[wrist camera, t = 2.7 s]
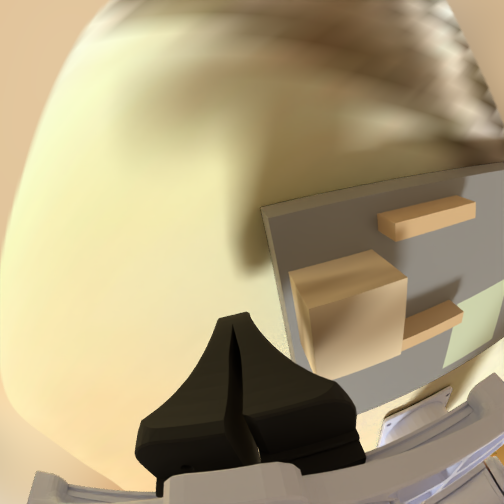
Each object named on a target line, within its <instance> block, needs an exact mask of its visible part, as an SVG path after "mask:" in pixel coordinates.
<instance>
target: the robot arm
mask: <svg viewBox="0 0 504 504" xmlns="http://www.w3.org/2000/svg"><path fill="white" fill-rule="evenodd" d="M452 389H453V388H452V387H451V386H448V387H447V388H445V389H443V390H441V391H439V392H438V393H436V394H434V395H432V396H430V397H428V398H426V399H424V400H423V401H421V402H419V403H417V404H415V405H413V406H411V407H408V408H406V409H404V410H402V411H400V412H398V413H396V414H393V415H391V416H389V417H387V418H386V419H385V420H384V421H383V426H382V430H381V434H380V438H379V443H378V446H377V448H376V449H374V450H371V451H369V452H366V453H365V452H364V450H363V448H362V446H361V444H360V441H359V438H360V437H359V434H358V432H357V430H356V418H357V411H356V407H355V405H354V403H353V401H352V400H351V398H350V397H349V395H348V394H347V393H346V392H345V391H344V389H343V388H342V387H341V386H340V385H339V384H338V383H337V382H336V381H333V380H330V379H327V378H324V377H321V376H319V375H317V374H315V373H312V372H310V371H308V370H307V369H305V368H303V367H301V366H300V365H298V364H296V363H295V362H293V361H292V360H290V359H289V358H287V357H286V356H285V355H283V354H282V353H281V352H280V351H279V350H277V349H276V348H275V347H274V346H273V345H272V344H271V343H270V342H269V341H268V340H267V339H266V338H265V337H264V335H263V334H262V333H261V332H260V331H259V329H258V328H257V327H256V325H255V324H254V322H253V321H252V319H251V317H250V314H249V313H248V312H243V313H239V314H235V315H231V316H227V317H222V318H219V319H218V321H217V323H216V326H215V329H214V331H213V334H212V336H211V339H210V341H209V343H208V345H207V347H206V349H205V351H204V353H203V355H202V357H201V358H200V360H199V362H198V364H197V365H196V367H195V368H194V370H193V371H192V373H191V374H190V376H189V377H188V378H187V380H186V381H185V382H184V383H183V384H182V386H181V387H180V388H179V389H178V390H177V391H176V392H175V393H174V394H173V395H172V396H171V397H170V398H169V399H168V400H167V401H166V402H165V403H164V404H163V405H162V406H160V407H159V408H158V409H157V410H155V411H154V412H153V413H151V414H150V415H149V416H147V417H146V418H144V419H143V420H142V421H141V423H140V427H139V430H138V435H137V441H136V447H135V456H136V458H137V460H138V461H139V462H140V463H141V464H142V465H143V466H144V467H145V468H146V469H147V470H148V471H149V472H151V473H152V474H153V475H154V476H155V477H156V478H157V482H156V492H137V491H120V490H108V489H99V488H91V487H85V486H78V485H72V484H68V483H67V482H66V481H65V480H64V479H63V478H61V477H59V476H57V475H55V474H52V473H47V472H43V471H36V474H35V477H34V480H33V484H32V487H31V491H30V494H29V498H28V502H27V504H504V466H503V465H502V463H501V462H500V460H499V459H498V457H497V456H494V457H491V456H490V455H491V454H492V453H494V452H495V451H496V450H497V449H498V448H500V447H501V446H502V445H503V444H504V382H503V381H502V380H501V379H500V377H499V376H498V375H497V374H496V373H492V374H491V375H490V376H488V377H487V378H485V379H484V380H483V381H481V382H480V383H478V384H477V385H476V386H475V387H474V388H473V389H472V390H471V391H470V393H469V395H468V398H467V401H466V402H464V403H463V404H461V405H459V406H458V407H456V408H455V409H453V410H451V411H450V412H448V410H447V409H446V408H445V407H446V404H447V402H448V400H449V397H450V395H451V392H452ZM258 449H259V452H258ZM259 454H260V456H259ZM487 457H488V458H487ZM486 458H487V459H486Z"/></svg>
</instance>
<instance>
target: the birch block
mask: <svg viewBox="0 0 504 504" xmlns="http://www.w3.org/2000/svg"><path fill="white" fill-rule="evenodd" d="M288 273H289V278H290V284H291V290H292V295H293V301H294V307H295V313H296V319H297V325H298V331H299V337H300V343H301V345H302V347H303V350H304V352H305V355H306V357H307V359H308V362H309V364H310V367H311V369H312V371H313V373H315V374H317V375H319V376H321V377H324V378H327V379H330V380H334V379H337V378H340V377H343V376H346V375H349V374H352V373H355V372H357V371H360V370H363V369H365V368H368V367H371V366H373V365H376V364H378V363H381V362H384V361H386V360H388V359H391V358H393V357H396V356H398V355H400V354H401V349H402V342H403V333H404V324H405V313H406V300H407V282H408V277H407V276H405V275H404V274H403V273H402V272H400V271H399V270H398V269H397V268H395V267H394V266H393V265H391V264H390V263H389V262H388V261H386V260H385V259H384V258H382V257H381V256H380V255H379V254H377V253H376V252H375V251H373V250H372V249H371V250H367V251H364V252H360V253H357V254H353V255H350V256H346V257H342V258H339V259H335V260H331V261H328V262H324V263H320V264H316V265H313V266H309V267H305V268H301V269H298V270H294V271H290V272H288Z"/></svg>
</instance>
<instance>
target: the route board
mask: <svg viewBox="0 0 504 504" xmlns="http://www.w3.org/2000/svg"><path fill="white" fill-rule="evenodd" d="M260 208H261V213H262V218H263V222H264V227H265V232H266V236H267V241H268V246H269V251H270V255H271V260H272V265H273V270H274V275H275V280H276V284H277V289H278V294H279V299H280V304H281V309H282V314H283V319H284V324H285V329H286V334H287V340H288V345H289V350H290V355H291V360H292V361H293V362H295V363H296V364H298V365H300V366H301V367H303V368H305V369H307V370H308V371H310V372H312V373H313V371H312V369H311V367H310V364H309V362H308V359H307V357H306V355H305V352H304V350H303V347H302V345H301V343H300V337H299V331H298V325H297V319H296V313H295V307H294V301H293V295H292V290H291V284H290V278H289V273H288V272H290V271H294V270H298V269H301V268H305V267H309V266H313V265H316V264H320V263H324V262H328V261H331V260H335V259H339V258H342V257H346V256H350V255H353V254H357V253H360V252H364V251H367V250H371V249H372V250H373V251H375V252H376V253H377V254H379V255H380V256H381V257H382V258H384V259H385V260H386V261H388V262H389V263H390V264H391V265H393V266H394V267H395V268H397V269H398V270H399V271H400V272H402V273H403V274H404V275H405V276H407V277H408V282H407V300H406V313H405V324H404V333H403V342H402V349H401V354H400V355H398V356H396V357H393V358H391V359H388V360H386V361H384V362H381V363H378V364H376V365H373V366H371V367H368V368H365V369H363V370H360V371H357V372H355V373H352V374H349V375H346V376H343V377H340V378H337V379H334V380H333V381H336V382H337V383H338V384H339V385H340V386H341V387H342V388H343V389H344V391H345V392H346V393H347V394H348V395H349V397H350V398H351V400H352V401H353V403H354V405H355V407H356V411H357V415H358V414H361V413H363V412H366V411H368V410H371V409H373V408H376V407H378V406H381V405H383V404H385V403H388V402H390V401H392V400H395V399H397V398H399V397H401V396H403V395H406V394H408V393H410V392H412V391H414V390H416V389H418V388H420V387H422V386H424V385H426V384H428V383H430V382H432V381H434V380H436V379H438V378H439V377H441V376H443V375H445V374H447V373H448V372H450V371H452V370H454V369H455V368H457V367H459V366H461V365H462V364H464V363H466V362H467V361H469V360H470V359H472V358H474V357H475V356H477V355H478V354H480V353H481V352H483V351H484V350H486V349H487V348H489V347H490V346H492V345H493V344H495V343H496V342H498V341H499V340H500V339H502V338H503V337H504V162H499V163H491V164H484V165H477V166H470V167H463V168H457V169H450V170H444V171H438V172H432V173H426V174H420V175H414V176H408V177H403V178H397V179H392V180H386V181H381V182H376V183H371V184H365V185H360V186H355V187H350V188H345V189H341V190H336V191H331V192H326V193H322V194H317V195H312V196H308V197H303V198H299V199H294V200H290V201H285V202H281V203H277V204H272V205H268V206H264V207H260Z"/></svg>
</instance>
